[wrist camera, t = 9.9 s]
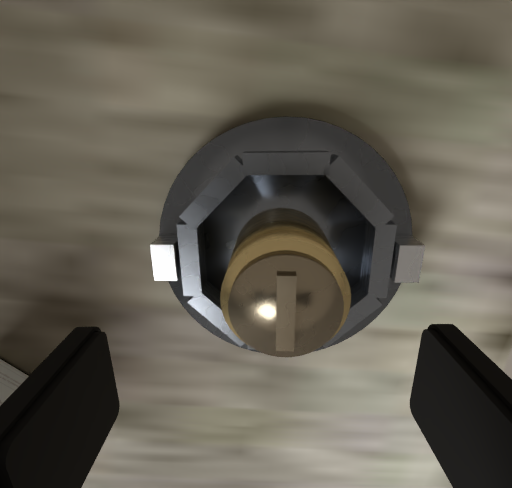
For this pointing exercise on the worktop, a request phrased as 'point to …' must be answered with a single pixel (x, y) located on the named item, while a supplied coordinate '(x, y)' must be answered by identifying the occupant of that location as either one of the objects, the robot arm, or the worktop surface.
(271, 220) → the brass lock cylinder
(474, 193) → the worktop surface
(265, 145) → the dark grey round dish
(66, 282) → the worktop surface
